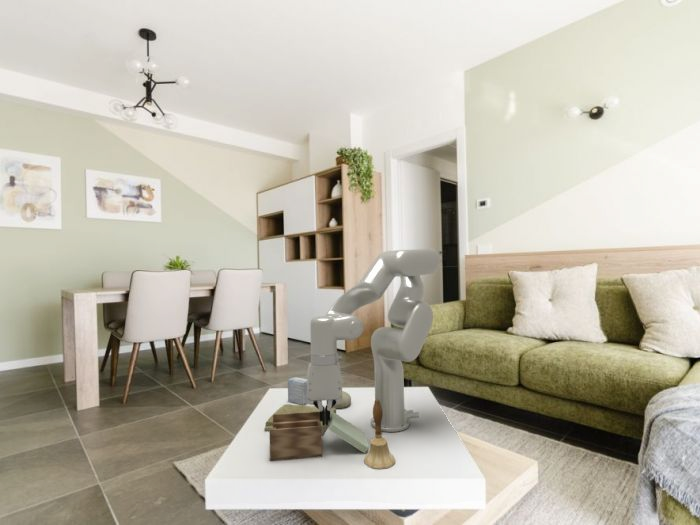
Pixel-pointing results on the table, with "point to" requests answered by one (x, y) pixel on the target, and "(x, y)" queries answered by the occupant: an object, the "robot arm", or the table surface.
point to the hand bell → (378, 444)
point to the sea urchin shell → (345, 401)
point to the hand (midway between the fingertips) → (325, 423)
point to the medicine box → (297, 390)
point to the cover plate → (348, 432)
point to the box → (296, 436)
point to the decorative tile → (296, 409)
